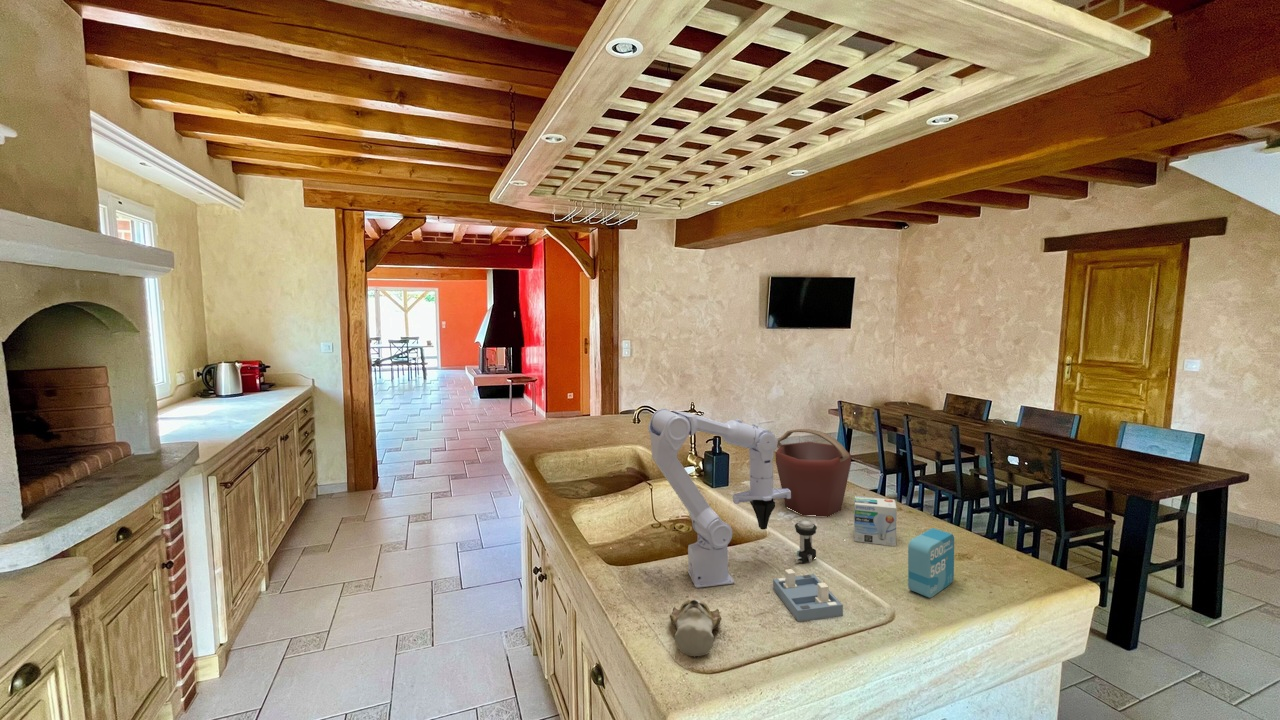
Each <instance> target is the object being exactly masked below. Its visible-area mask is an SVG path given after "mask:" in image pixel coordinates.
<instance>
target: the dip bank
mask: <svg viewBox="0 0 1280 720" xmlns="http://www.w3.org/2000/svg"><path fill="white" fill-rule="evenodd" d="M783 583H785V577H781V578H780V577H779V578H773V579H772V589H773V591H774V592H775V594H776V595H777V596H778V597H779V599H780V600H781V601H782V602H783V604H784V605H785V607H786V608H787V609H788V610H789V612H790V613H791V615H792V616H793V618H795V620H796V621H797V623H798V622H800V623H801V622H804V621H805V622H807V621H813V620H820V619H829V618H835V617H842V616H844V605H843V603H841V601H840V600H839V599H838V598H837V597H836V596H835V594H833V593H832V592H831V590H829V589H828V594H829V599H830V600H831V602H827V603H819V604H816V603H815V597H817V583H823V582H822V581H821V580H820V579H819V578H818V576H816V575H815V574H814V573H812V574H805V575H804V574H803V575H795V584H796V585H797V586H798V587H795V588H787V589H783Z"/></svg>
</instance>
